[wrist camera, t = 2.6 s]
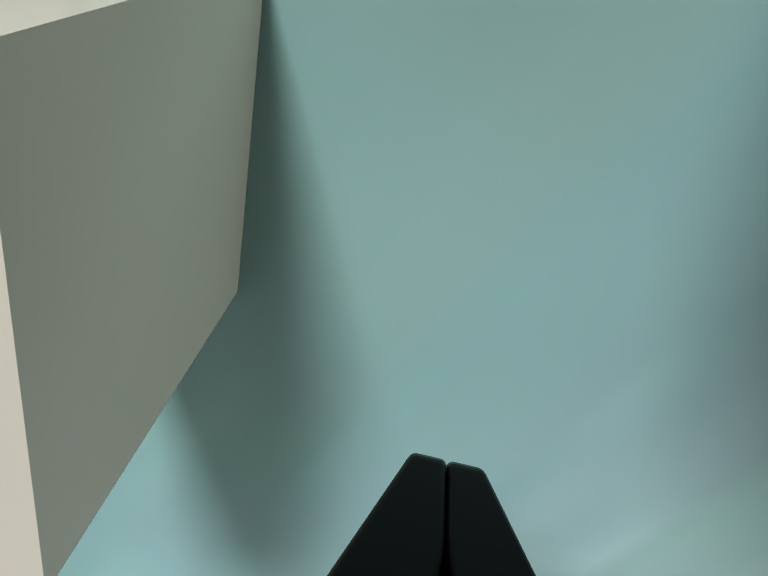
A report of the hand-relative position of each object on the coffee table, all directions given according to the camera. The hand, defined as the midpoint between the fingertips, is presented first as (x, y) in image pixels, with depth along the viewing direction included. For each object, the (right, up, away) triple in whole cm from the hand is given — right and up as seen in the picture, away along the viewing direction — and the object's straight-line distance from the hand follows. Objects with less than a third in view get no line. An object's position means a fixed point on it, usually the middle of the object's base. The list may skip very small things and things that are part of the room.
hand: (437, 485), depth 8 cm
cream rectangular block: (-5, +6, +8) cm, 11 cm away
